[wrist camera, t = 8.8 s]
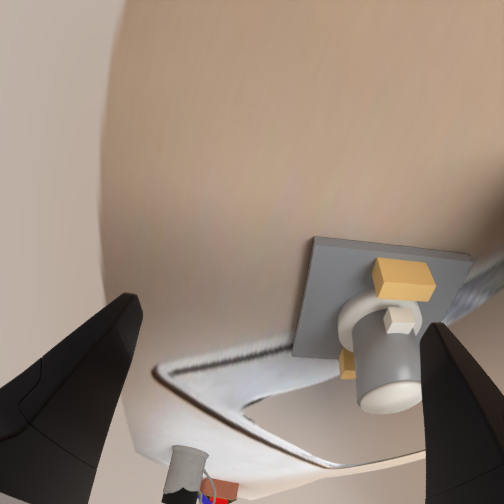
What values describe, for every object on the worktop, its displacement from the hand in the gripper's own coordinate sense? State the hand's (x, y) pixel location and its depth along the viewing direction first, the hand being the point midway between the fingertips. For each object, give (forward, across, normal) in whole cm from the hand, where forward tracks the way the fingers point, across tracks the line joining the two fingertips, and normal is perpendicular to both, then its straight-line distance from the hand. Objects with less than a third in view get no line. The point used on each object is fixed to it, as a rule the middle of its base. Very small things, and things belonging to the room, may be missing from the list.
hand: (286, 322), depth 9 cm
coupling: (+10, -8, +11) cm, 17 cm away
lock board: (+12, -8, +12) cm, 19 cm away
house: (+12, +12, +115) cm, 117 cm away
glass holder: (+12, +13, +69) cm, 71 cm away
